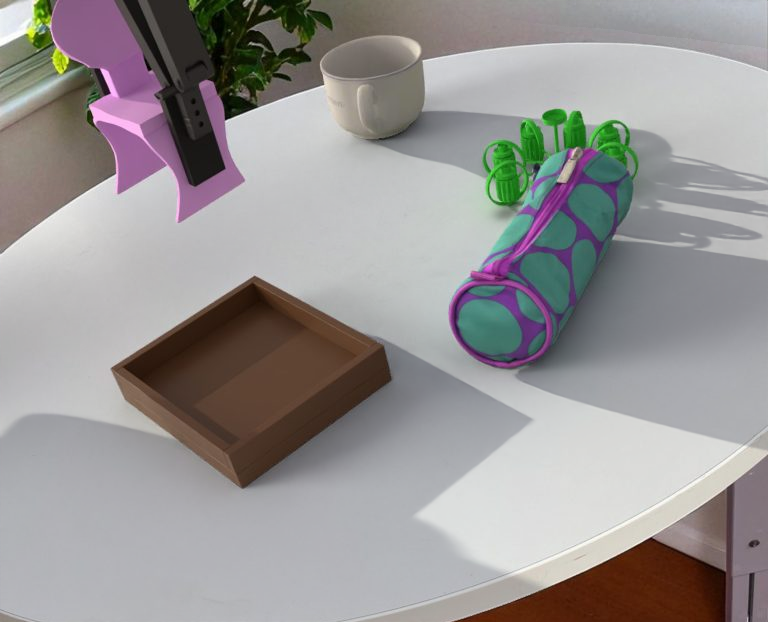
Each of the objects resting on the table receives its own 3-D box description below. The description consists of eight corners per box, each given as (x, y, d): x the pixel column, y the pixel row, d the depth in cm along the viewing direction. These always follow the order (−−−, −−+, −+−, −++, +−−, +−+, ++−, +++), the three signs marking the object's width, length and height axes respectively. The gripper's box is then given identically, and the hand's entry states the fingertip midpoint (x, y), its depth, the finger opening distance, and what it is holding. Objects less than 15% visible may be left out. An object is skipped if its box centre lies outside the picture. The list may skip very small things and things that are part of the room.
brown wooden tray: (125, 399, 92) (109, 368, 89) (265, 307, 97) (254, 275, 95) (242, 489, 81) (228, 456, 79) (392, 379, 87) (384, 345, 84)
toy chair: (171, 232, 75) (89, 16, 64) (104, 200, 80) (18, -5, 69) (260, 176, 78) (196, -39, 67) (190, 148, 83) (120, -56, 72)
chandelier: (672, 187, 98) (672, 116, 93) (525, 246, 96) (517, 176, 91) (590, 127, 108) (586, 60, 103) (457, 179, 106) (446, 113, 101)
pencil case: (540, 227, 98) (530, 128, 91) (636, 235, 94) (633, 133, 87) (452, 371, 86) (433, 270, 79) (557, 387, 82) (546, 283, 75)
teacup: (352, 104, 122) (336, 34, 117) (443, 98, 119) (432, 26, 113) (315, 168, 114) (296, 96, 108) (412, 164, 110) (398, 89, 105)
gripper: (194, -220, 56) (301, 173, 72) (14, -230, 69) (139, 105, 85) (74, -170, 53) (213, 227, 69) (-90, -189, 66) (59, 149, 82)
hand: (172, 160), depth 77 cm, fingers closed on toy chair, 8 cm apart
